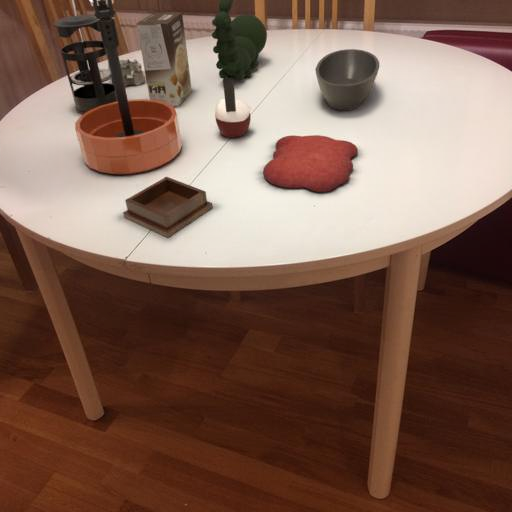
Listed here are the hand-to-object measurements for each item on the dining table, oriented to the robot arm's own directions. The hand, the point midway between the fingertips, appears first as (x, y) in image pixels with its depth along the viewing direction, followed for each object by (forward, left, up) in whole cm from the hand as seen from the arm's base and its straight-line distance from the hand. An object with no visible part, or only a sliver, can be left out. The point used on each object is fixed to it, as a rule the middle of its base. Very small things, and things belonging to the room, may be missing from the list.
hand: (109, 39), depth 79 cm
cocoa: (+15, -10, -19) cm, 26 cm away
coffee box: (+22, +13, -19) cm, 32 cm away
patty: (+13, -28, -19) cm, 36 cm away
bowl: (+41, -18, -19) cm, 49 cm away
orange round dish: (0, 0, -19) cm, 19 cm away
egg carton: (+25, +31, -19) cm, 44 cm away
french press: (+11, +24, -19) cm, 33 cm away
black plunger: (0, 0, -18) cm, 18 cm away
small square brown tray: (-10, -19, -19) cm, 29 cm away
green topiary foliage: (+43, +11, -19) cm, 48 cm away
